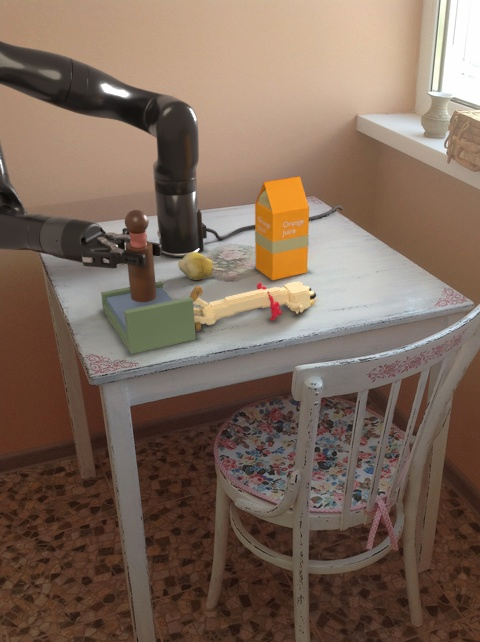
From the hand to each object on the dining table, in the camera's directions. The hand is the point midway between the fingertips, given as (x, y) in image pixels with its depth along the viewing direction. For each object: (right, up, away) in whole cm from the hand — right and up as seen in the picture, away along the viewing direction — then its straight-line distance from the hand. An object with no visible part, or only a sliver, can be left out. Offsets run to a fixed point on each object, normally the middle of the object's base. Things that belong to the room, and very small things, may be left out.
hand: (152, 255), depth 122 cm
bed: (-3, -11, +9) cm, 15 cm away
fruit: (+5, 0, +27) cm, 28 cm away
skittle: (-3, -7, +5) cm, 9 cm away
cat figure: (+17, -9, +13) cm, 23 cm away
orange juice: (+22, +2, +31) cm, 38 cm away
